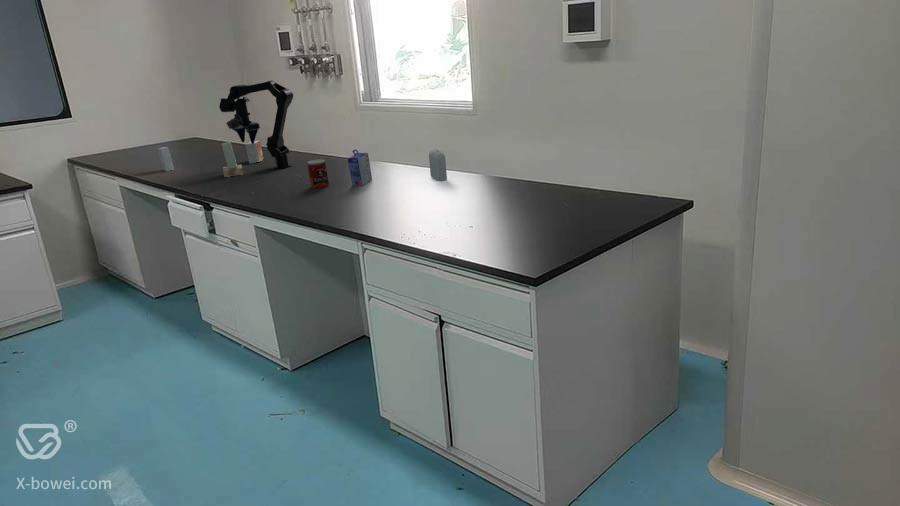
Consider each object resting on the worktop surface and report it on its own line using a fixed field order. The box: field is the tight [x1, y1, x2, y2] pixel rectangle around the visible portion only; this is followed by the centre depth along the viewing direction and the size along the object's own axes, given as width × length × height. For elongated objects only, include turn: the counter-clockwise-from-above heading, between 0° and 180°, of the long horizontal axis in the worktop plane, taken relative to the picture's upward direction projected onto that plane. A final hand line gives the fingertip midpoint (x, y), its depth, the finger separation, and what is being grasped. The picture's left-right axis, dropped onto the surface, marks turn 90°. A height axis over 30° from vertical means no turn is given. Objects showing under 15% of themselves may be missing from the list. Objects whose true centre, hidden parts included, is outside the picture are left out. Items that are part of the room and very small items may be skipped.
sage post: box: [221, 141, 238, 169], centre depth 307 cm, size 4×5×12 cm
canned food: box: [307, 158, 329, 189], centre depth 272 cm, size 8×8×11 cm
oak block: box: [222, 164, 244, 178], centre depth 310 cm, size 9×9×4 cm
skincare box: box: [157, 146, 175, 172], centre depth 334 cm, size 6×4×12 cm
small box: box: [245, 140, 264, 164], centre depth 336 cm, size 8×6×10 cm
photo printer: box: [428, 149, 448, 182], centre depth 266 cm, size 10×4×12 cm, turn 25°
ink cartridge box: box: [347, 149, 373, 187], centre depth 270 cm, size 10×6×14 cm, turn 161°
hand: (248, 142), depth 318 cm, fingers open, 9 cm apart
